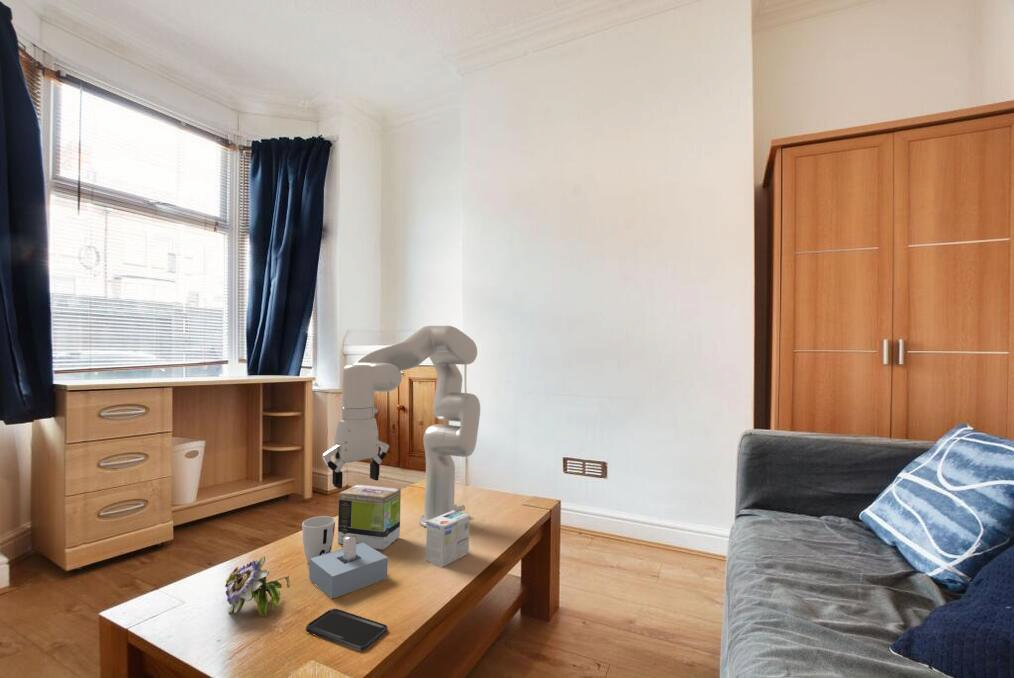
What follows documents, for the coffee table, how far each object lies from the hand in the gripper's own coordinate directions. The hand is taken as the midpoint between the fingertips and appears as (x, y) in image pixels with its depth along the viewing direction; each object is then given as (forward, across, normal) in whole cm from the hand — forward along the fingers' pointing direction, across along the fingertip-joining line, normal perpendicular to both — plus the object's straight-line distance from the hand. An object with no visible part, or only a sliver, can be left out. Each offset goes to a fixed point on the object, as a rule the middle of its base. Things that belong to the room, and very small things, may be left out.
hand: (356, 483), depth 113 cm
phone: (+23, +12, +20) cm, 33 cm away
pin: (+23, +2, +1) cm, 23 cm away
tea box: (+23, -13, -16) cm, 31 cm away
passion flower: (+22, +22, -2) cm, 32 cm away
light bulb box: (+23, -23, +8) cm, 34 cm away
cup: (+23, +3, -14) cm, 27 cm away
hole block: (+22, +2, +1) cm, 23 cm away
